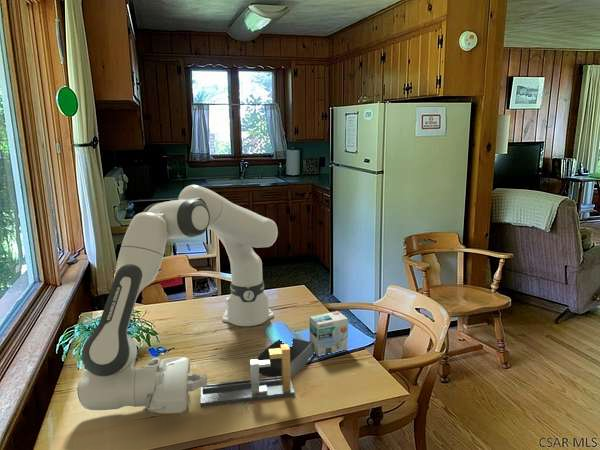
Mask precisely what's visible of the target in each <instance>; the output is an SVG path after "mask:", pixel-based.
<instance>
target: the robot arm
mask: <svg viewBox="0 0 600 450" xmlns="http://www.w3.org/2000/svg"><path fill="white" fill-rule="evenodd" d="M132 217H133V218H132V219H131V221H130V223H129V225H128V227H127V229H126V231H125V234H124V237H123V239H122V242H121V245H120V246H121V247H120V250H119V253H118V257H117V261H116V267H115V271H114V277H113V281H112V284H111V287H110V290H109V293H108V296H107V299H106V302H105V305H104V309H103V311H102V314H101V318H100V320H99V322H98V324H97V326H96V328H95V329H94V331H93V332H92V333H91V334H90V336H88V338H87V339H86V341H85V343H84V344H83V347H82V349H81V360H82V363H83V365H84V367H85V369H86V371H85V372H84V373H83V375H82V376H81V377H80V378H79V379H78V382H77V390H76V391H77V396H78V400H79V402H80V404H81V406H82V407H83V408H84V409H85V410H88V411H110V410H111V411H112V410H119V409H123V408H125V407H133V408H137V407H139V408H140V407H145V409H146V410H148V411H149V412H153V413H154V412H155V413H157V414H177V413H178V414H180V413H183V412H185V411H186V410H187V406H188V397H189V395H188V394H189V392H194V391H195V390H198V389H201V388H203V387H206V386H207V384H208V375H207V374H206V373H204V374H199V373H195V372H191V362H190V361H191V360H190V358H188V357H185V356H178V357H177V356H176V357H167V358H163V359H161V358H159V357H154V358H152V359H150V361H149V362H148V363H147V364H145V365H144V366H143V367H142V368H135V365H136V360H137V356H138V349H137V348H138V346H137V343H136V341H135V340H134V339H133V337H131V336H130V335H128V328H129V326H130V322H131V318H132V315H133V312H134V308H135V305H136V302H137V299H138V297H139V295H140V293H141V292H142V291H143V289H144V288H146V287H147V286H149V285H150V284H151V283H154V281H155V280H156V278H157V276H158V273H159V272H160V269H161V266H162V262H163V259H164V255H165V250H166V245H167V241H168V240H170V239H171V240H172V239H174V240H176V239H177V240H178V239H184V238H195V237H198V236H202V235H203V234H204V233H205V232H206V231H207V229H208V230H211V231H213V232H214V234H215V236H216V238H218V239H219V240H220V242H221V243H222V245H223V247H224V248H225V251H226V254H227V256H228V260H229V263H230V275H231V276H230V277H231V278H230V279H231V282H230V287H229V288H230V294H229V296H228V297H225V298H226V299H225V303H226V305H227V306H226V309H225V311H224V314H223V316H222V322H224V323H225V322H226V323H229V324H232V325H233V326H238V327H239V326H240V327H252V326H258V325H261V324H263V323H265V322H266V321H268V320H269V319H272V318H274V317H275V314H274V312H273V311H272V310H271V309H270V304H269V303H270V302H269V295H267V293H266V292H265V283H264V280H263V262H262V259H261V258H260V256H259V255H258V254H257V253H256V252H255V250H254V248H257V249H258V248H270V247H271V246H273V244H274V243H275V242H276V240H277V238H278V235H279V231H278V229H279V228H278V226H277V224H276V222H275V221H274V220H273V219H270V218H269V217H265V216H263V215H260V214H258V213H257V212H254V211H252V210H250V209H248V208H244V207H242V206H240V205H237V204H235V203H233V202H231V201H229V200H228V199H226V198H225V197H224V196H221V195H220V194H218V193H216V192H215V191H213V190H211V189H209V188H206V187H203V186H201V185H197V184H190V185H187V186H185V187H184V188H183V189H182V190H181V191H180V192H179V195H178V199H175V200H173V199H172V200H169V201H163V202H156V203H152V204H150V205H148V206H147V207H146V208H144V209H143V211H142V212H139V213H137V214H135V215H134V216H132Z"/></svg>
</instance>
